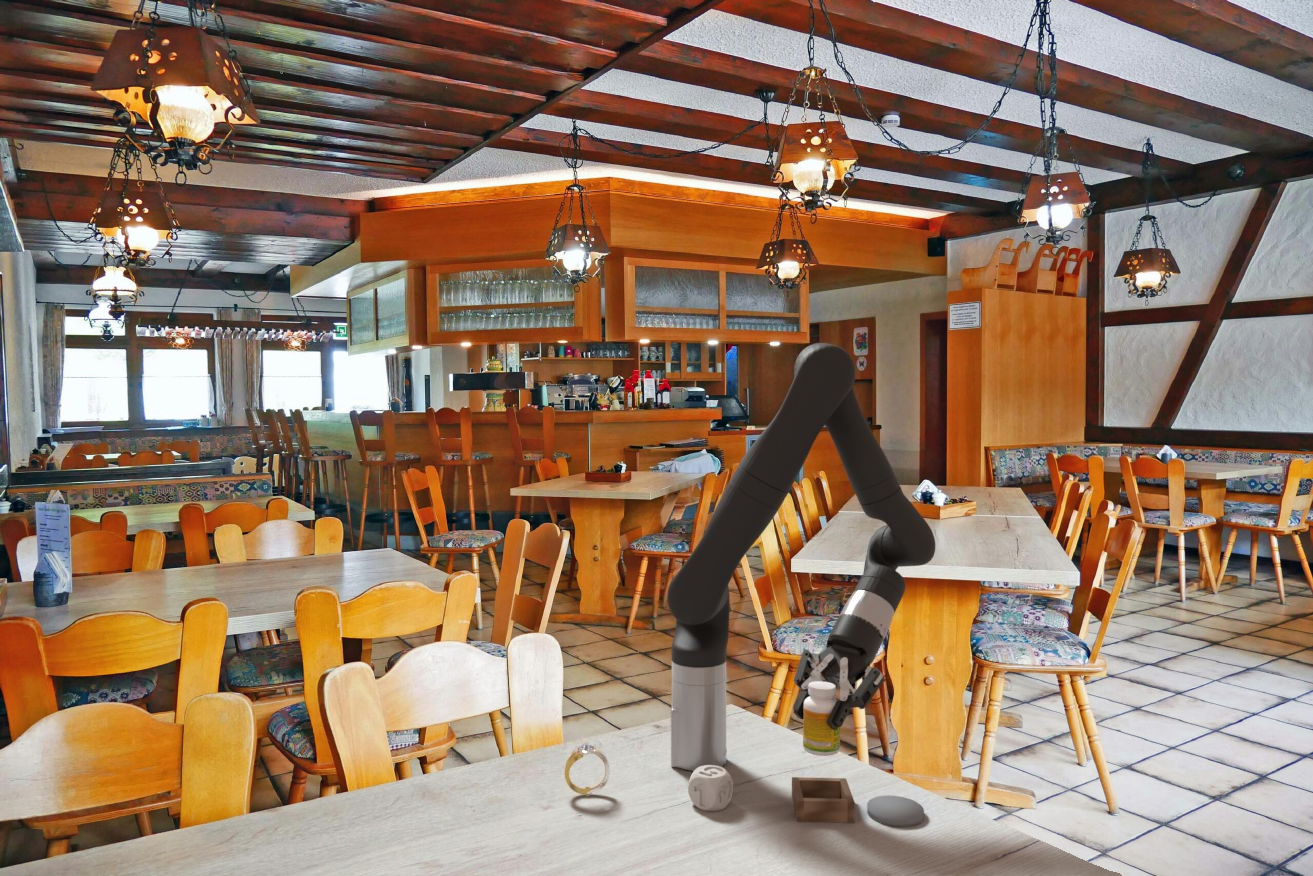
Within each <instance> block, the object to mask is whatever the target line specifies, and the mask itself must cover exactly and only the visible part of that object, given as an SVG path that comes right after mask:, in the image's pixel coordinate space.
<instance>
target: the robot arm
mask: <svg viewBox="0 0 1313 876" xmlns="http://www.w3.org/2000/svg"><path fill="white" fill-rule="evenodd" d="M855 365H856V364H855V362H854V359H853V357H852V356H851V355H850V354H849V353H848V351H847V350H846V349H844V348H843V347H840V346H838V345H835V344H833V343H830V342H816V343H812V344H810V345H808V346H806V347H805V348H804V349H802V351H800V353H799V355H797V358H796V360H795V362H794V365H793V376H794V378H793V381H792V383H791V385H790V387H789V389H788V391H787V394H786V396H785V398H784V400H783V403H782V404H781V406H780V408H779V409H778V411H777V412H776V414H775V416H774V418H773V419H772V420H771V422H770V423H769V424H768V425H767V427H766V428H765V429H764V430H763V431H762V433H761V434H759V436H758V437H757V438H756V440H754V442H753V443H752V445H751V446H750V447H749V449H748V450H747V451H746V453H745V455H744V456H743V457H742V459H741V460H740V462H739V464H738V465H737V467H736V469H735V471H734V472H733V474H732V476H731V478H730V480H729V481H728V483H727V485H726V487H725V488H724V491H723V493H722V495H721V497H720V499H719V500H718V503H717V505H716V506H715V509H714V511H713V514H712V515H711V518H710V520H709V522H708V524H707V527H706V529H705V531H704V533H703V534H702V537H701V539H700V540H699V542H698V543H697V545H696V547H695V548H694V550H693V551H692V552H691V554H690V555H689V557H688V558H687V560H686V561H685V562H684V564H683V565H682V566H681V567H680V568H679V570H678V571H677V573H676V574H675V575H674V576H673V578H672V580H671V581H670V583H669V585H668V588H667V595H666V599H667V600H666V601H667V606H668V609H669V612H670V614H672V616H673V618H674V619H675V620H676V621H675V622H676V623H675V624H676V625H675V632H674V636H673V639H672V643H671V706H670V707H671V708H670V767H672V768H680V769H682V770H686V771H692V772H694V770H695V769H696V768H698V767H700V766H704V765H716V766H720V767H723V766H725V765H726V763H727V752H728V751H727V649H728V643H729V637H730V587H729V584H730V582H731V580H732V578H733V575H734V573H735V571H736V570H737V568H738V566H739V564H740V562H741V561H742V559H743V558H744V557H745V554H747V552H748V551H749V550H750V549H751V547H753V545H754V544H755V543H756V542H757V541H758V539H759V538H760V536H762V534H763V533H764V532H765V530H766V529H767V527H768V526H769V524H770V523H771V522H772V520H774V517H775V516H776V514H777V513H778V512H779V510H780V508H781V506H782V504H783V503H784V501H785V500H786V497H787V496H788V494H789V492H790V491H791V489H792V487H793V486H794V483H795V482H796V479H797V478H798V476H799V474H800V472H801V470H802V468H803V466H804V464H805V462H806V460H807V459H808V456H809V453H810V452H811V449H812V447H813V444H814V443H815V441H816V439H817V437H818V436H819V435H820V433H821V431H822V429H823V428H824V427H826V429H827V431H828V433H829V435H830V437H831V440H832V441H833V444H834V447H835V448H836V450H837V454H838V456H839V457H840V460H841V463H842V466H843V469H844V471H845V473H846V476H847V478H848V480H849V482H850V485H851V488H852V489H853V492H854V494H855V496H856V498H857V500H858V503H859V504H860V507H861V508H862V511H863V512H864V514H865V515H866V516H868V518H870V519H874V520H878V521H880V522H881V521H882V522H883V523H884V524H886V525H883V526H881V527H879V528H878V529H876V530H875V532H874V533H873V534H872V535H871V538H870V539H869V542H868V546H867V552H866V555H865V562H864V566H863V573H862V575H861V576H860V579H859V581H858V582H857V584H856V587H855V589H854V590H853V593H851V596H850V597H849V598H848V599H847V601H846V603H845V604H844V606H843V608H842V610H841V612H840V613H839V616H838V618H837V619H836V622H835V623H834V625H833V627H832V629H831V631H830V633H829V634H828V637H827V642H826V644H825V645H826V646H825V647H824V648H823V649H822V650H821V651H820V652H819V653H815V652H814V653H812V652H810V650H809V649H804V650H803V651H802V652H801V656H800V659H799V663H798V665H797V668H796V672H795V675H794V678H793V682H794V684H795V685H796V686H797V687H798V689H799V690H800V692H799V694H798V696H797V697H796V700H795V702H794V703H793V705H792V709H793V713H794V715H795V716H796V717H797V718H798V719H801V720H803V715H804V701H805V699H806V698H807V697H809V696H810V695H809V692H808V688H809V683H811V682H815V681H824V682H829V683H832V684H834V685H835V686H839V687H840V690H839V691H840V692H839V700H838V701H836V704H835V706H834V708H833V710H832V712H831V714H830V716H829V718H828V720H827V724H828V725H829V727H830V728H831V729H833V730H837V729H838V727H840V728H841V727H842V726H843V724H844V722H845V720H846V718H847V716H848V715H849V712H850V710H852V709H854V708H858V709H860V710H864V709H865V708H867V706H868V704H869V703H870V701H871V700H872V699H873V697H874V696H875V695H876V693H877V692H878V690H879V688H880V687H881V686H882V685H883V683H884V682H885V677H884V675H883V673H882V672H881V670H880V669H879V668H878V667H876V666H874V667H871V664H872V663H873V662H874V661H875V658H876V657H877V654H878V652H879V650H880V648H881V646H882V644H883V641H884V640H885V638H886V636H887V634H888V632H889V629H890V628H891V625H892V622H893V618H894V616H895V613H896V611H897V609H898V607H899V605H900V604H901V601H902V599H903V597H904V595H905V591H906V588H907V587H906V581H905V578H904V577H903V575H902V574H900V572H898V571H897V569H899V567H900V568H902V567H917V566H919V567H920V566H924V565H926V564H928V563H929V562H931V561H932V559H933V557H934V556H935V553H936V539H935V536H934V532H933V531H932V528H931V527H930V525H929V524H928V522H927V521H926V519H925V518H924V517H923V515H921V513H920V512H919V511H918V510H917V508H916V507H915V505H914V504H913V503H912V502H911V500H910V499H908V497H906V495H905V494H904V492H903V489H902V487H901V485H900V483H899V481H898V479H897V477H896V474H895V472H894V470H893V468H892V465H891V463H890V462H889V459H888V458H887V456H886V453H885V452H884V451H883V449H882V447H881V445H880V443H879V442H878V440H877V438H876V437H875V435H874V433H873V431H872V429H871V428H870V425H869V424H868V422H867V420H866V418H865V417H864V414H863V412H862V410H861V408H860V404H859V402H858V400H857V396H856V394H855V390H854V387H853V386H854V383H855V380H856V375H857V374H856V372H857V370H856V366H855ZM818 663H819V664H818ZM817 664H818V665H817ZM821 676H822V679H821ZM861 679H863V680H862V682H861V683H860V684H859V686H858V685H857V684H858V681H860V680H861ZM857 686H858V687H857Z"/></svg>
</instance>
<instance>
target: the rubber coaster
mask: <svg viewBox="0 0 1313 876" xmlns="http://www.w3.org/2000/svg"><path fill="white" fill-rule="evenodd" d="M866 805H867V807H866V808H867V809H866V811H867V812H866V813H867V815H868V816H869V818H871V819H872V820H873V821H876V822H877V823H880V824H882V825H886V826H890V827H898V828H908V827H914V826H917V825H919V824H921V823H922V822H923V821H924V819H925V817H924V816H925V810H924V807H923V806H922V805H921V804H920V803H919V802H917V801H915V800H913V799H911V798H909V797H904V796H899V795H889V794H888V795H880V796H879V795H878V796H875V797H873V798H870V799H869V800H868V802H867V803H866Z"/></svg>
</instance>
